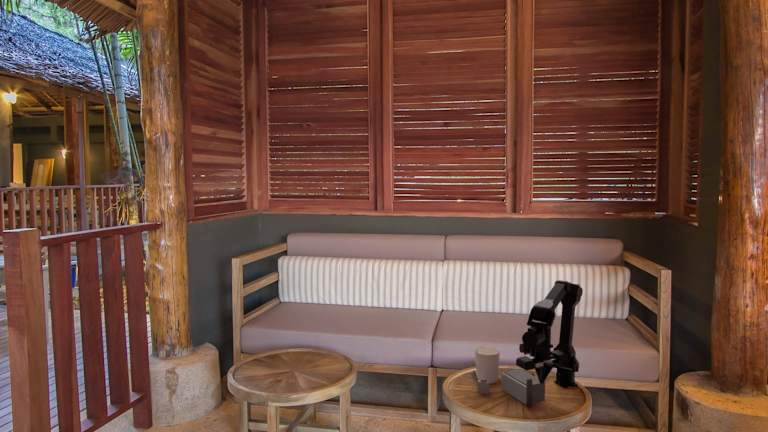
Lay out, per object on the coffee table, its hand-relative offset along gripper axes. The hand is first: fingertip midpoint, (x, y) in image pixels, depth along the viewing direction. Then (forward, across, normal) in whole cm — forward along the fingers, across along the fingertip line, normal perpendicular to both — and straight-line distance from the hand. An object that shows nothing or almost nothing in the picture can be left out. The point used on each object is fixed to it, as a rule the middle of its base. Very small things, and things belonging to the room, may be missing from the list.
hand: (541, 383), depth 185 cm
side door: (+7, +6, -7) cm, 12 cm away
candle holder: (+8, +5, -26) cm, 28 cm away
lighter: (+8, +14, -18) cm, 24 cm away
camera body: (+8, +1, -9) cm, 12 cm away
